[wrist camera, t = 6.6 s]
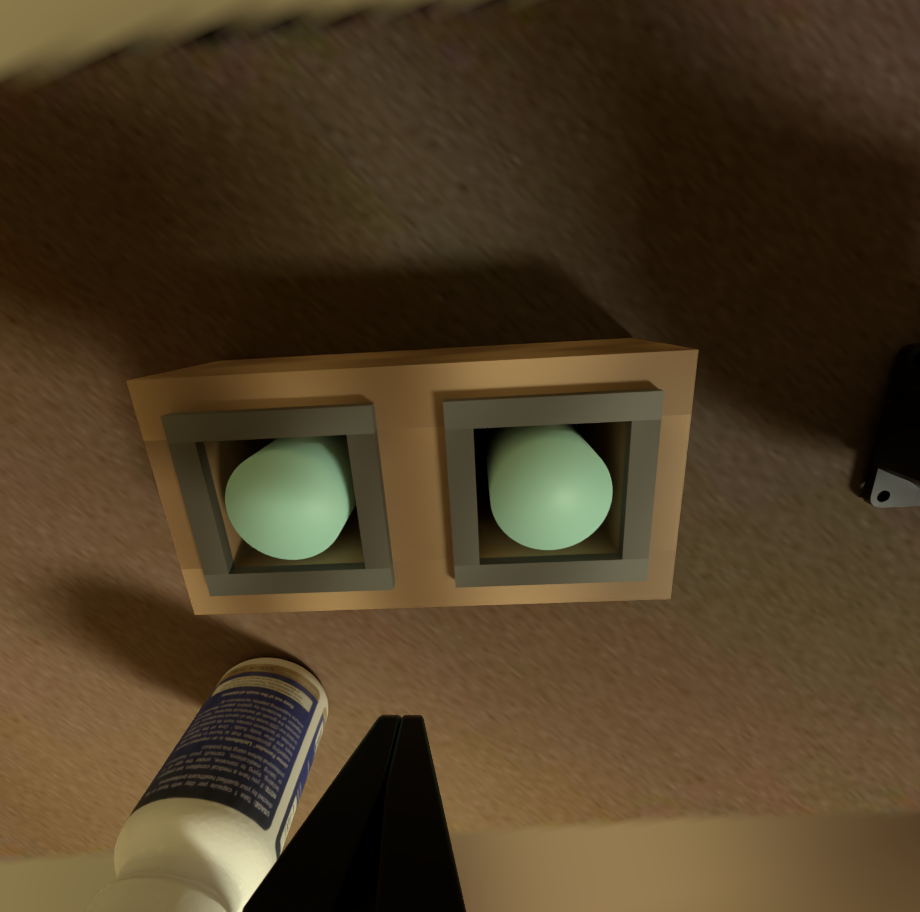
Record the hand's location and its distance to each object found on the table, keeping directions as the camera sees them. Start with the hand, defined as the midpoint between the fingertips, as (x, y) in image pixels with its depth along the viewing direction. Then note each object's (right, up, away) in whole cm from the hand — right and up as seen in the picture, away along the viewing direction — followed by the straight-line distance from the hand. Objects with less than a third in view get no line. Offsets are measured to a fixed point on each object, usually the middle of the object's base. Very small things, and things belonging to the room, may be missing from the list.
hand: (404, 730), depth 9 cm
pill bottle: (-8, -7, +14) cm, 18 cm away
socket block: (0, +6, +10) cm, 11 cm away
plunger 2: (+4, +6, +10) cm, 12 cm away
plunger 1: (-4, +5, +10) cm, 12 cm away
